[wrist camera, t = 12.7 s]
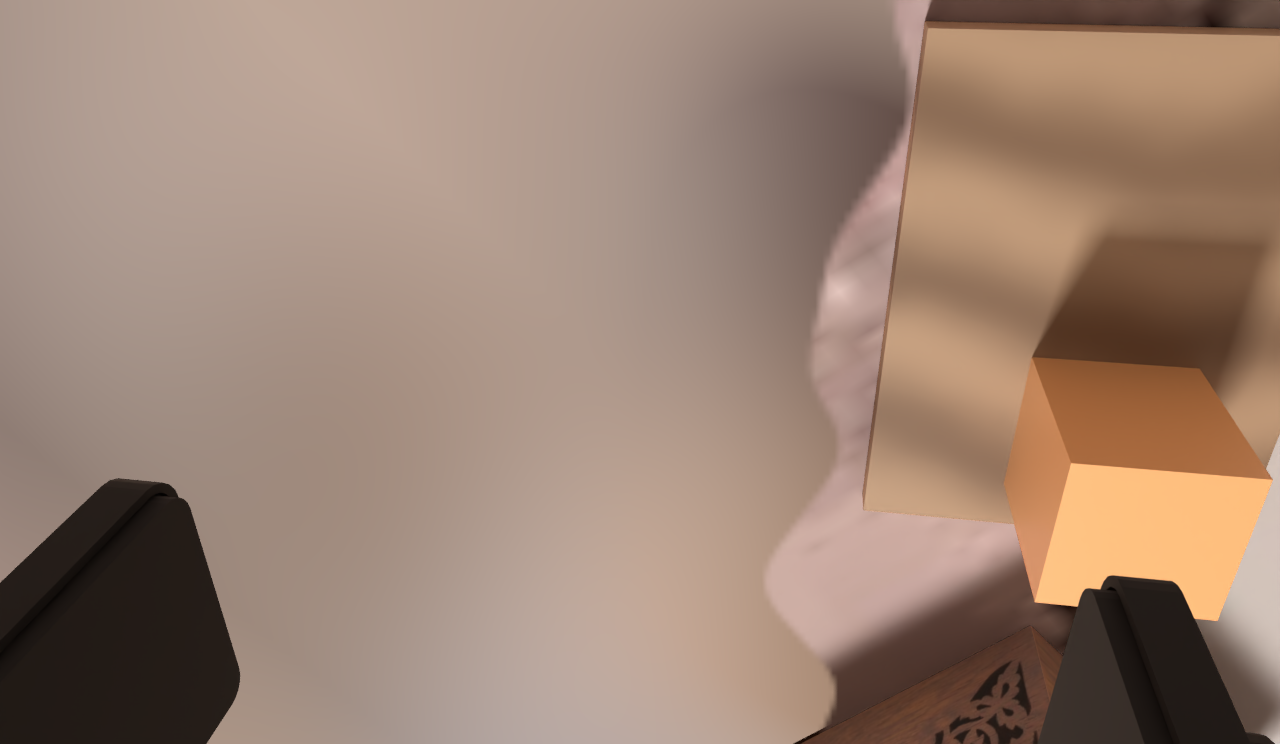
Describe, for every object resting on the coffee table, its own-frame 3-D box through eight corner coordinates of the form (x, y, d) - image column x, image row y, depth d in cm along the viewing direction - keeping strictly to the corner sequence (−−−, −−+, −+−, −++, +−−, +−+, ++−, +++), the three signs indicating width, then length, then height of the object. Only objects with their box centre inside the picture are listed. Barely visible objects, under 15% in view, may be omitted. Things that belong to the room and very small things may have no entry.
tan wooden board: (924, 21, 33) (928, 28, 32) (1412, 31, 31) (1432, 39, 30) (862, 493, 43) (863, 510, 42) (1226, 525, 41) (1236, 544, 40)
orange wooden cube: (1031, 357, 37) (1071, 463, 31) (1199, 368, 36) (1272, 479, 31) (1003, 483, 40) (1034, 602, 34) (1158, 496, 40) (1217, 621, 34)
